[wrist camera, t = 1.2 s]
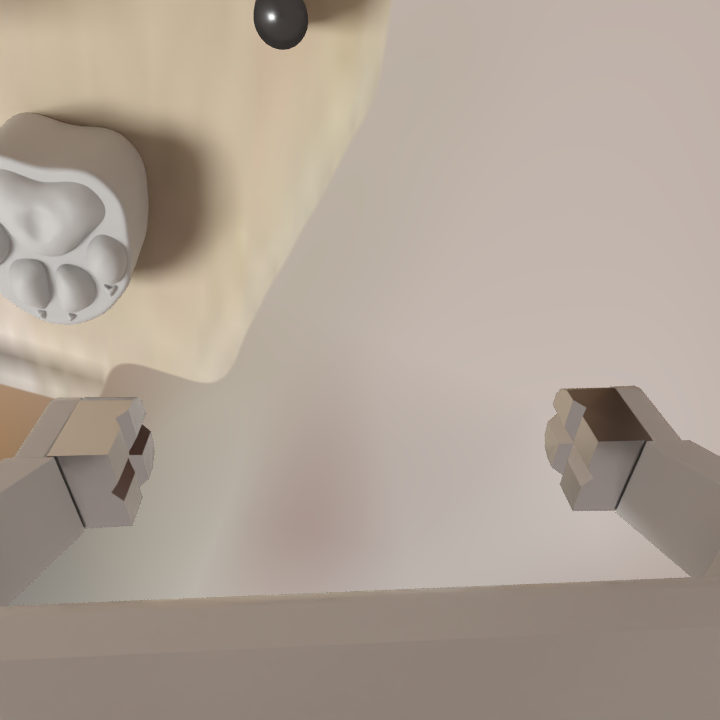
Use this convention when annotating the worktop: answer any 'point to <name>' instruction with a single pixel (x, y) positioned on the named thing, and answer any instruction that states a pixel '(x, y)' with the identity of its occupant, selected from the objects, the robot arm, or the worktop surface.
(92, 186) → the grey animal paw
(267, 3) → the crank
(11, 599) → the robot arm
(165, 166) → the worktop surface
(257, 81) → the worktop surface
